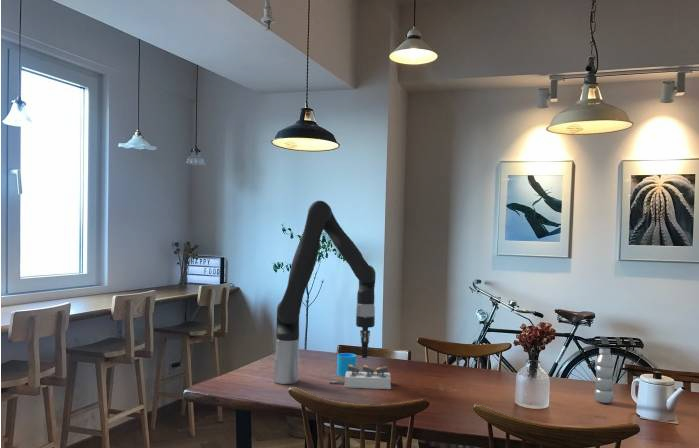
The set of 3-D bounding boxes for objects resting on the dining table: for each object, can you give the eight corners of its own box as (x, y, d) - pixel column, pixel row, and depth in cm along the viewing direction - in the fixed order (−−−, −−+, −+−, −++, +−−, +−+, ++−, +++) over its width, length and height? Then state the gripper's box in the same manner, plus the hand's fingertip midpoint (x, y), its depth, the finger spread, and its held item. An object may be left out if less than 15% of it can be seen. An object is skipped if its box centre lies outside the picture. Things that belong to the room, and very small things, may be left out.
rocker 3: (377, 374, 214) (376, 369, 214) (377, 372, 217) (376, 368, 217) (388, 371, 214) (387, 367, 214) (388, 369, 217) (387, 365, 217)
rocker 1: (347, 370, 215) (348, 366, 215) (347, 368, 218) (349, 364, 218) (358, 373, 215) (359, 369, 215) (358, 371, 218) (359, 367, 218)
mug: (353, 377, 226) (353, 357, 226) (334, 375, 228) (335, 356, 228) (359, 370, 238) (360, 352, 238) (341, 369, 240) (342, 350, 240)
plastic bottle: (596, 398, 203) (597, 345, 204) (615, 402, 199) (616, 348, 199) (591, 402, 198) (592, 348, 199) (611, 406, 194) (612, 351, 194)
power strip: (328, 386, 211) (328, 374, 211) (330, 380, 220) (330, 368, 220) (390, 389, 210) (391, 376, 210) (390, 382, 219) (390, 370, 219)
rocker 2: (362, 370, 215) (363, 366, 215) (362, 368, 218) (363, 364, 218) (373, 373, 214) (374, 369, 214) (373, 371, 217) (374, 367, 217)
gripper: (356, 312, 223) (355, 353, 223) (355, 316, 210) (354, 361, 210) (374, 312, 223) (373, 354, 223) (374, 317, 210) (373, 361, 209)
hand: (364, 357), depth 216 cm, fingers closed
